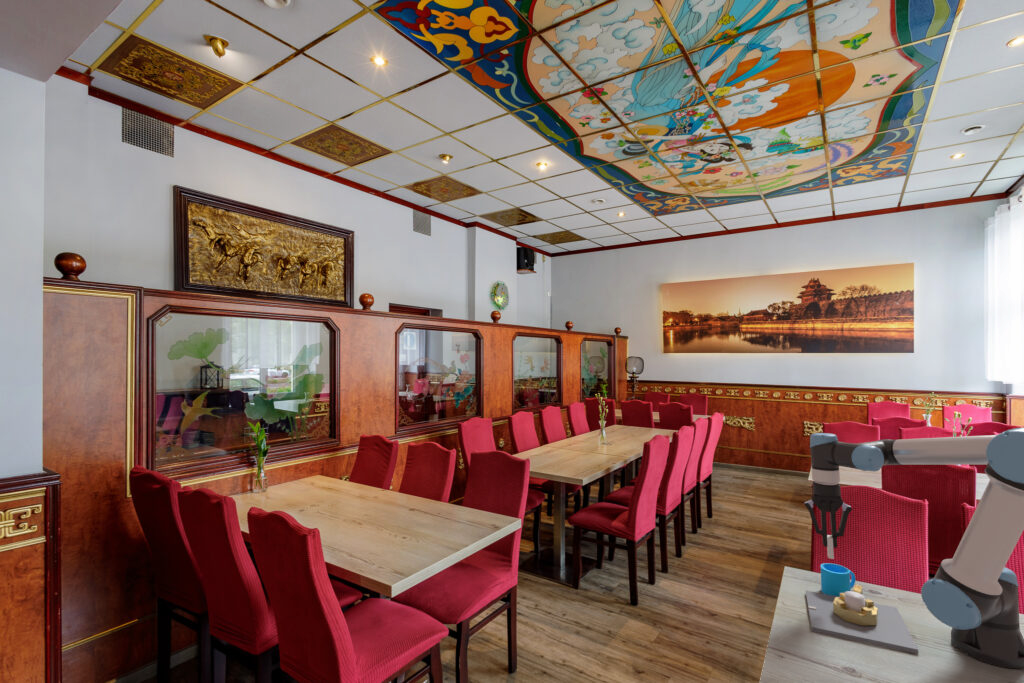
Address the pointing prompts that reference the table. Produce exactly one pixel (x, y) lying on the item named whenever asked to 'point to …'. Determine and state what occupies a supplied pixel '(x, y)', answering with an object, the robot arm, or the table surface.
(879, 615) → the housing plate
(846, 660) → the table surface
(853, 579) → the mug
